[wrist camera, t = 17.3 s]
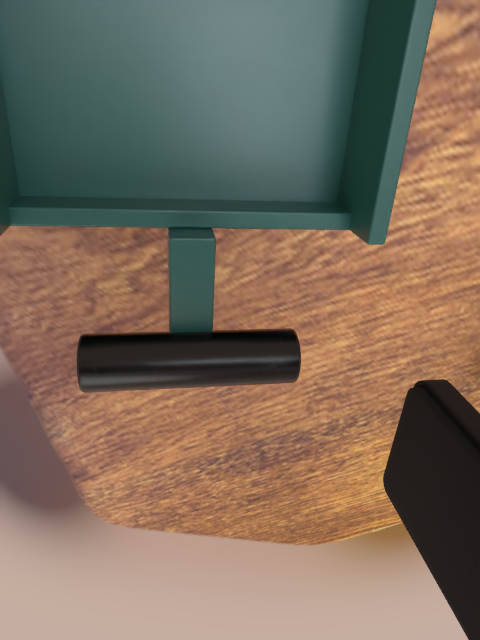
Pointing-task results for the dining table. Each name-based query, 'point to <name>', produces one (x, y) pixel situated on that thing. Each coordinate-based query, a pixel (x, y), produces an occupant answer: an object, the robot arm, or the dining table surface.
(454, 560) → the robot arm
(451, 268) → the dining table surface
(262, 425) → the dining table surface
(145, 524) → the dining table surface
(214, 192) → the scoop
